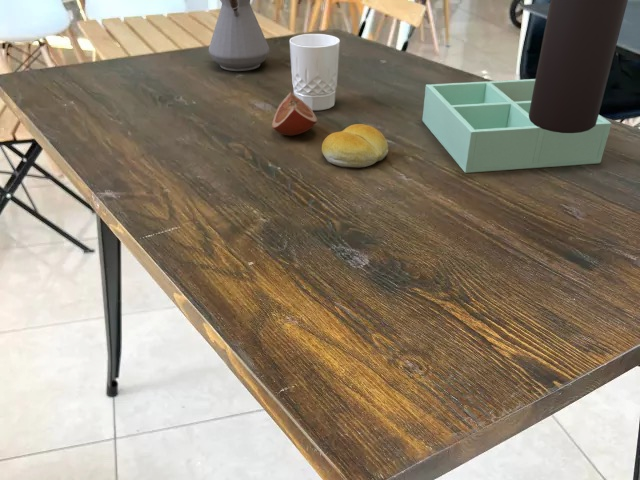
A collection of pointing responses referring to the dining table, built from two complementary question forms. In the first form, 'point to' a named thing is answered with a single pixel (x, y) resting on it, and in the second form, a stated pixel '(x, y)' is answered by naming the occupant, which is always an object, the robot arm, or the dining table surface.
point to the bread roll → (355, 146)
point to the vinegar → (575, 63)
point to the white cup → (315, 69)
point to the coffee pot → (238, 37)
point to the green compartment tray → (503, 128)
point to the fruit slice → (293, 116)
